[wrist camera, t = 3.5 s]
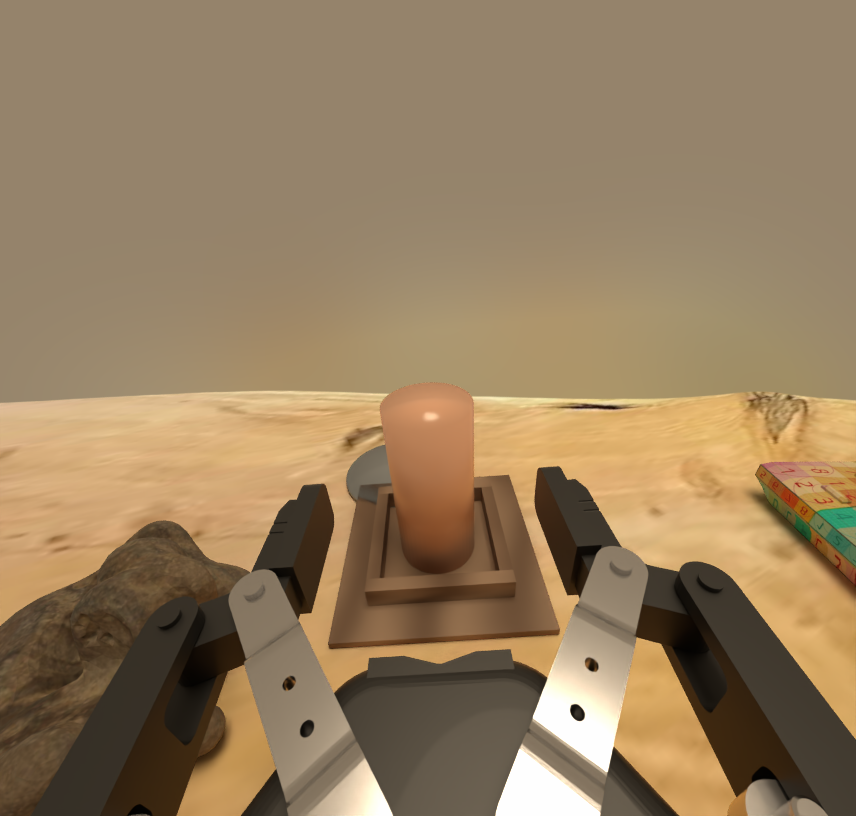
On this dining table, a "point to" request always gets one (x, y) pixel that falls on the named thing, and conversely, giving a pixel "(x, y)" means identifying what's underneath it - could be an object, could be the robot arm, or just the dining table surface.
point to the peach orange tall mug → (432, 473)
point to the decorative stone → (89, 652)
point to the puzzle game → (817, 505)
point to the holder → (441, 579)
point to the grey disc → (369, 474)
